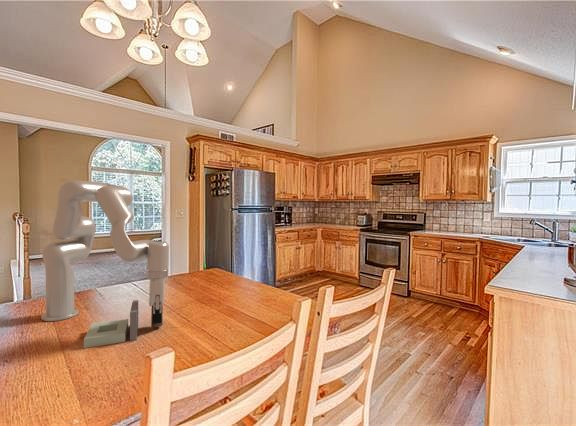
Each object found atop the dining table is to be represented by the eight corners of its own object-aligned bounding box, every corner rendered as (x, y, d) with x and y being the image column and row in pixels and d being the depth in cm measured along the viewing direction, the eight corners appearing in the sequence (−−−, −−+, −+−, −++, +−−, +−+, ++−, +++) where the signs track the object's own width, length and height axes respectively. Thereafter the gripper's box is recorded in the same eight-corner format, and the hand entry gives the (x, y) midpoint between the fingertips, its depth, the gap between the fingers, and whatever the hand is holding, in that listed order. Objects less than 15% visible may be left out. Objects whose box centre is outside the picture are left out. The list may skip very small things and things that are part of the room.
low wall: (132, 325, 116) (132, 300, 116) (138, 324, 117) (138, 299, 116) (130, 340, 103) (130, 312, 103) (136, 339, 104) (136, 311, 104)
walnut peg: (151, 323, 115) (151, 298, 115) (162, 322, 117) (162, 297, 117) (151, 327, 112) (151, 301, 111) (162, 326, 113) (163, 300, 113)
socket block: (91, 331, 110) (91, 323, 110) (128, 326, 115) (128, 318, 115) (83, 348, 98) (83, 339, 98) (125, 341, 103) (125, 333, 102)
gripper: (147, 269, 120) (146, 314, 120) (146, 280, 104) (145, 331, 105) (167, 268, 123) (166, 312, 123) (169, 278, 108) (168, 328, 108)
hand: (157, 320), depth 114 cm, fingers closed on walnut peg, 4 cm apart
